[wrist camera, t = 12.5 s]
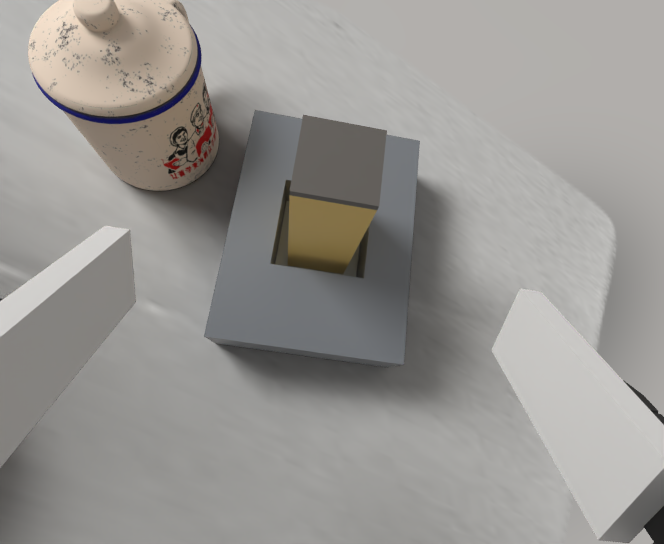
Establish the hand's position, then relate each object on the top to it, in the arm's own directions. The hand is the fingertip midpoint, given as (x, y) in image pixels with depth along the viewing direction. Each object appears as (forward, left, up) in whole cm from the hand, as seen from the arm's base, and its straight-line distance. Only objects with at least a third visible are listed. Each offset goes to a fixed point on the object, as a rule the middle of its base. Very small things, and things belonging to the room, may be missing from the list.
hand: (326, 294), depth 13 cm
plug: (0, +7, -13) cm, 15 cm away
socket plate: (0, +7, -14) cm, 16 cm away
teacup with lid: (-13, +15, -15) cm, 25 cm away
